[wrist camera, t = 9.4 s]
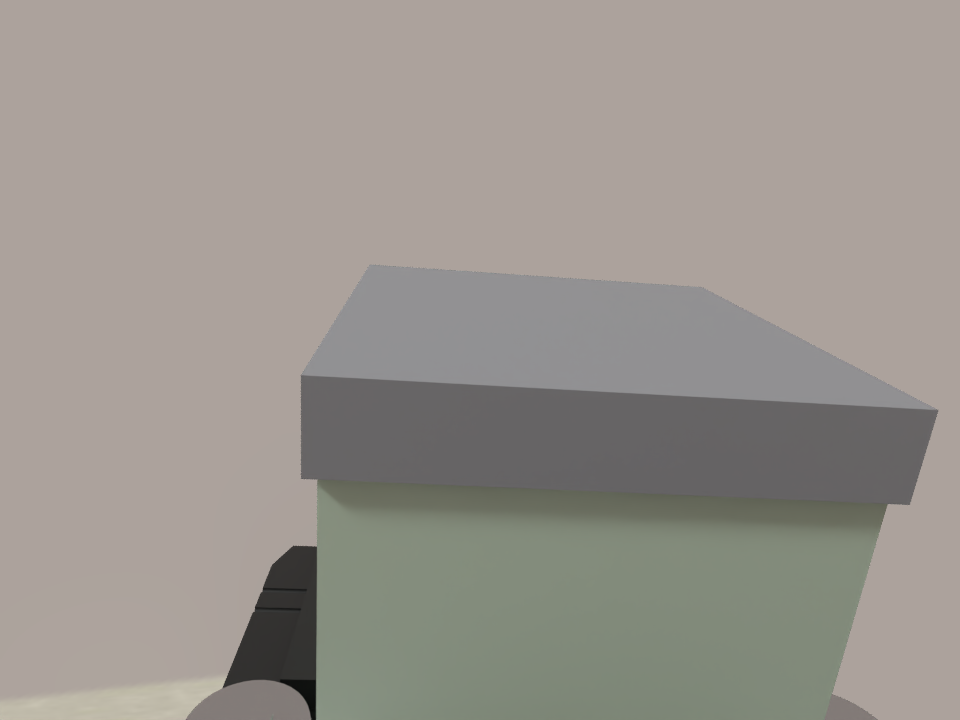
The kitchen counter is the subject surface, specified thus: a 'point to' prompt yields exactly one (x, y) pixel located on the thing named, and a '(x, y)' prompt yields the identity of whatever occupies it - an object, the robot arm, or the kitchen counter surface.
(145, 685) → the kitchen counter surface
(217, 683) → the kitchen counter surface
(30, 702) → the kitchen counter surface
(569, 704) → the green tin canister
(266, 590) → the robot arm
